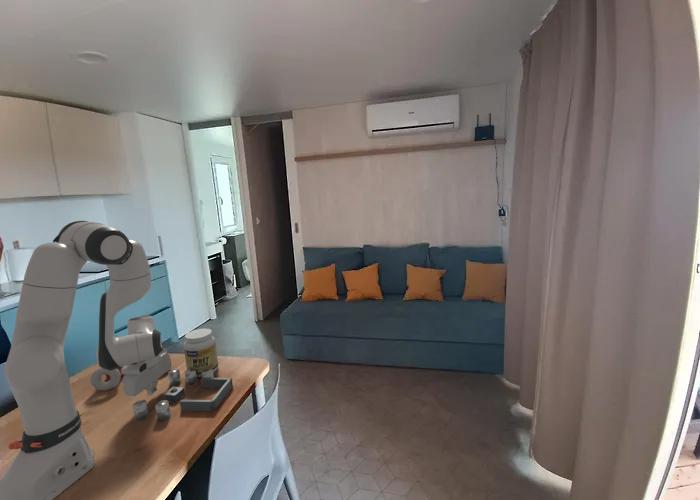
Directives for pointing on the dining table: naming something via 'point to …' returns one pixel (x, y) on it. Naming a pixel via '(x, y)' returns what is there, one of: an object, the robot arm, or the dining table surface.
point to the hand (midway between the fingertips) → (152, 392)
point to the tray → (209, 404)
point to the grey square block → (174, 394)
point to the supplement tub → (200, 351)
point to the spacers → (163, 406)
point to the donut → (103, 385)
